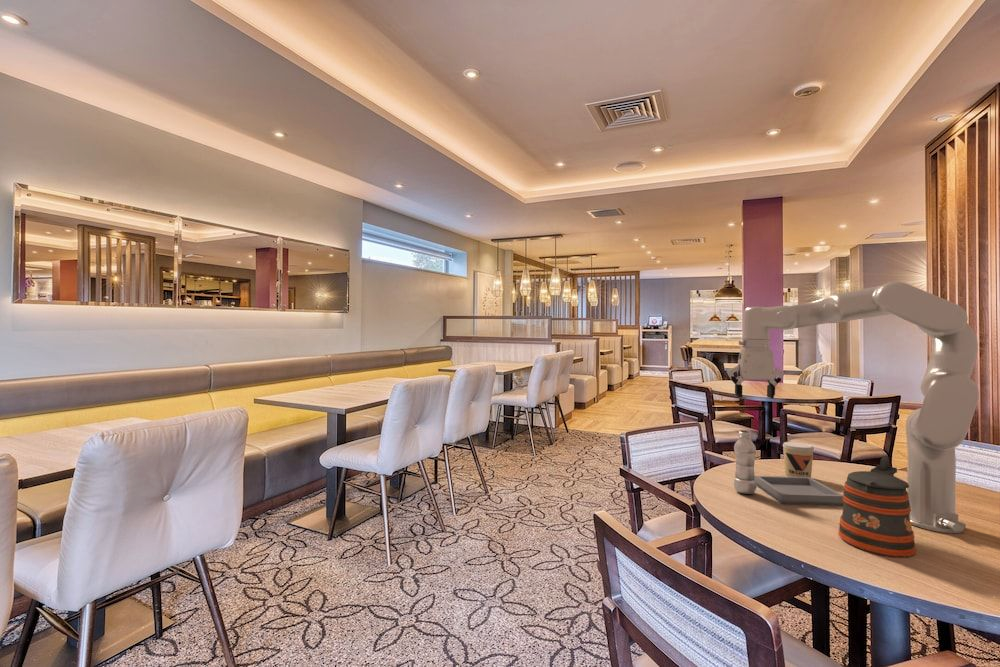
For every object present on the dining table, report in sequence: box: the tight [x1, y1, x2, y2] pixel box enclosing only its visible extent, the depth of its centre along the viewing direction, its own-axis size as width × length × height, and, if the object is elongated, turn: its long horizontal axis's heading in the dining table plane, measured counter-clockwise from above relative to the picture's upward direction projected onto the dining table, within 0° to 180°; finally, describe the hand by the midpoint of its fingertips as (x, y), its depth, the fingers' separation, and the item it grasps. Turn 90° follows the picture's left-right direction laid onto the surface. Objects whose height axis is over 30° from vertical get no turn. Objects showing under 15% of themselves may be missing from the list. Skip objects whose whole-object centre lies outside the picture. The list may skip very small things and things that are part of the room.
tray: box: [755, 475, 844, 507], centre depth 145 cm, size 18×18×3 cm
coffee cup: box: [782, 441, 815, 478], centre depth 162 cm, size 9×9×12 cm
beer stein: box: [838, 455, 916, 558], centre depth 113 cm, size 19×15×20 cm
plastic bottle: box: [733, 430, 757, 495], centre depth 147 cm, size 6×7×20 cm
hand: (754, 397), depth 146 cm, fingers open, 9 cm apart
